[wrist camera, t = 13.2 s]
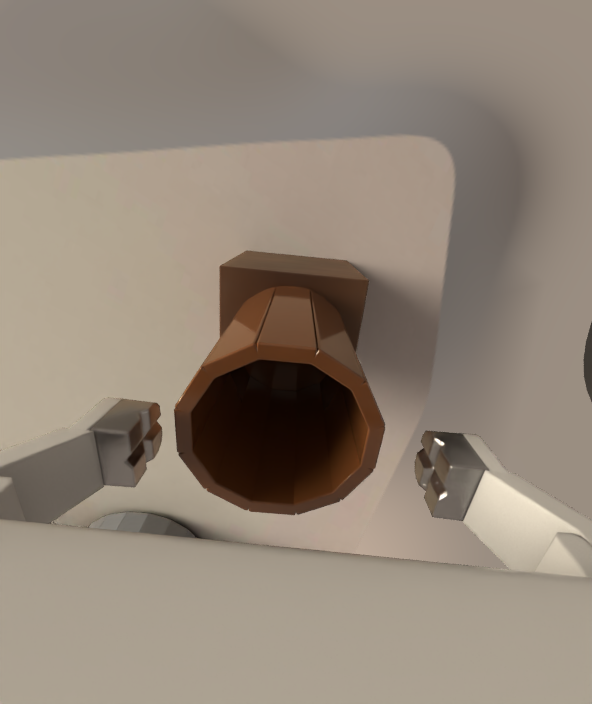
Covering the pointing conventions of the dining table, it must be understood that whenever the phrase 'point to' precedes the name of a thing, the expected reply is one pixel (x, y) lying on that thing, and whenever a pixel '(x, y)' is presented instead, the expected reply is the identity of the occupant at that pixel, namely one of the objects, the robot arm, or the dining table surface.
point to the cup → (280, 408)
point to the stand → (293, 284)
